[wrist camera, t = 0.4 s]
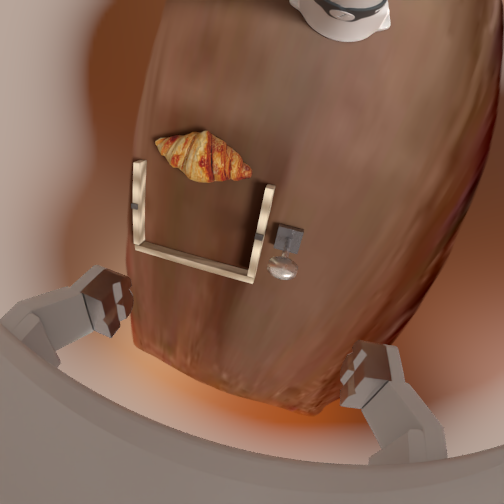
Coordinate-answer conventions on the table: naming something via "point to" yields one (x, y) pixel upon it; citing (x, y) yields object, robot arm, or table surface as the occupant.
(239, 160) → the croissant
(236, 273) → the frame
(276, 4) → the table surface
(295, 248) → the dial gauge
